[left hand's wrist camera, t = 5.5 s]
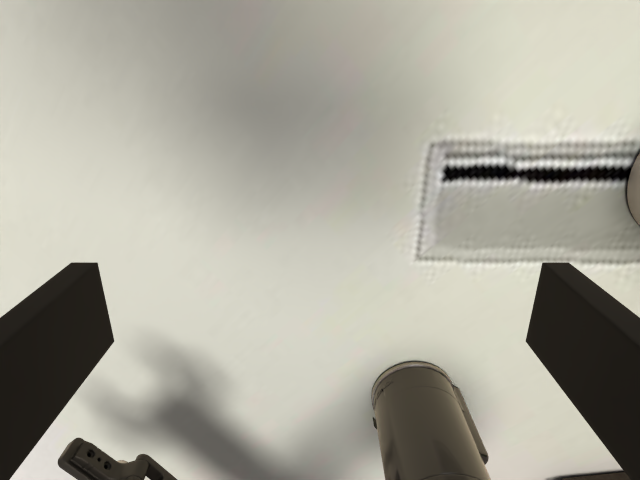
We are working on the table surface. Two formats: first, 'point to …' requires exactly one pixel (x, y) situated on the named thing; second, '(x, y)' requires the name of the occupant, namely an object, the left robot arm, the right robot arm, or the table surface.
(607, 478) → the toy
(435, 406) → the right robot arm
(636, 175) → the bust sculpture
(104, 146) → the table surface
